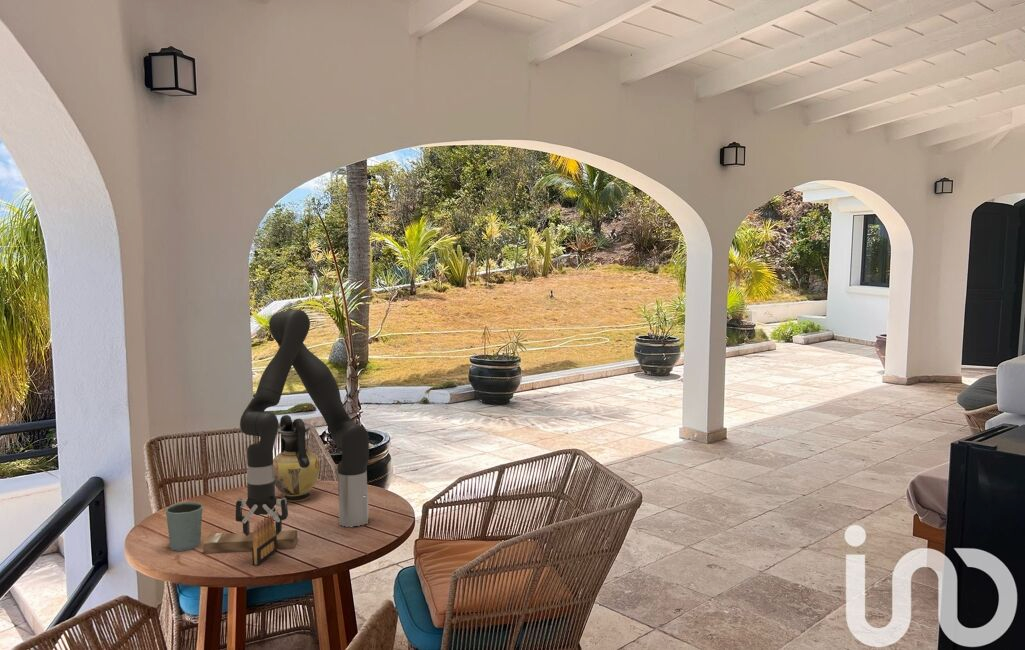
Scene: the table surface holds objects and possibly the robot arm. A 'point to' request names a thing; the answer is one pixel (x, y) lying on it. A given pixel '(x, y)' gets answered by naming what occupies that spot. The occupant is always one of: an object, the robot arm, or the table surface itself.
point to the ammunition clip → (264, 541)
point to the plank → (245, 541)
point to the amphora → (295, 461)
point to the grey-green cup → (184, 525)
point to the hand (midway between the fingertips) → (262, 534)
